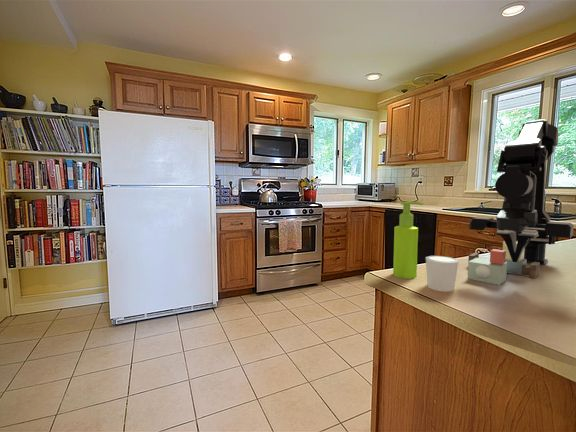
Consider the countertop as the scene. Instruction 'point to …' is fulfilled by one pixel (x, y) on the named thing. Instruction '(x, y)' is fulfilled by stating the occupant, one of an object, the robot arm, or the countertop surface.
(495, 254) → the red cube
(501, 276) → the cabinet
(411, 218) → the soap dispenser
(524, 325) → the countertop surface
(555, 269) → the countertop surface
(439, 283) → the white cup
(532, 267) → the brown i-shaped bar
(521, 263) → the carriage
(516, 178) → the robot arm
